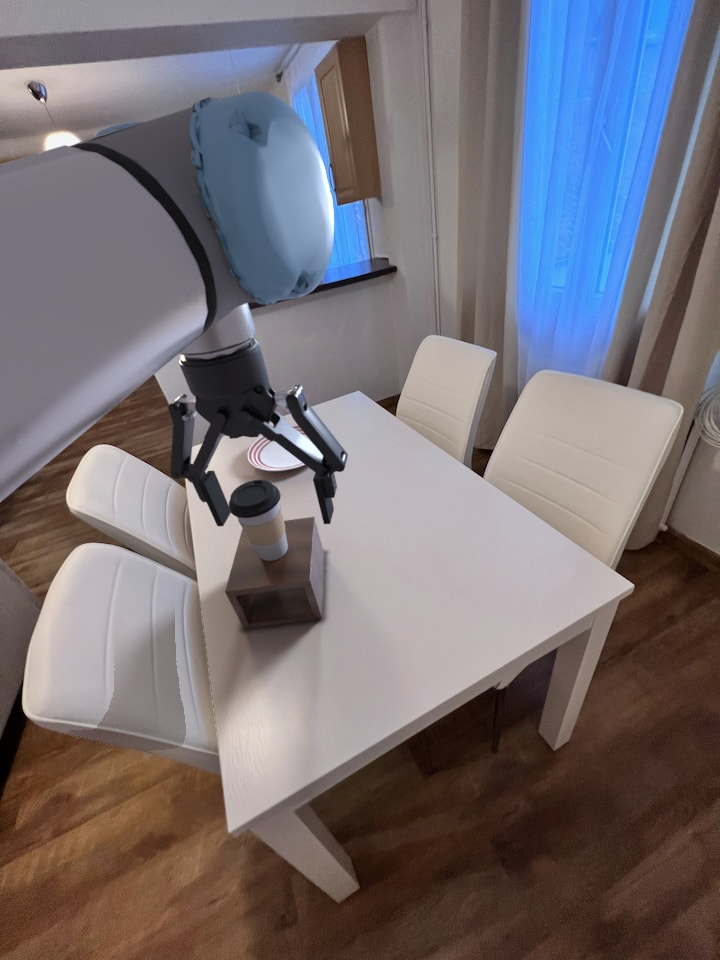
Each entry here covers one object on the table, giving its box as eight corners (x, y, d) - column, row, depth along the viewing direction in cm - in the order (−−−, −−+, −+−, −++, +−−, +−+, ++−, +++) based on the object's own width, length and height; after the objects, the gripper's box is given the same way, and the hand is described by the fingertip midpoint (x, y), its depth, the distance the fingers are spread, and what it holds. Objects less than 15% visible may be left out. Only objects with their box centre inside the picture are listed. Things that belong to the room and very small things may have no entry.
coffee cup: (292, 529, 86) (273, 471, 77) (300, 558, 78) (281, 499, 69) (248, 543, 84) (224, 485, 75) (252, 574, 76) (227, 515, 68)
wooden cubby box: (322, 618, 80) (310, 580, 73) (243, 628, 81) (224, 591, 74) (324, 553, 95) (314, 516, 88) (257, 562, 95) (242, 526, 89)
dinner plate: (337, 464, 125) (335, 455, 123) (250, 486, 122) (246, 477, 120) (323, 426, 147) (322, 418, 145) (249, 443, 144) (246, 435, 142)
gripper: (354, 320, 38) (378, 495, 50) (122, 345, 42) (196, 501, 55) (342, 345, 32) (372, 537, 44) (74, 372, 36) (169, 540, 49)
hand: (275, 518), depth 50 cm, fingers open, 13 cm apart
